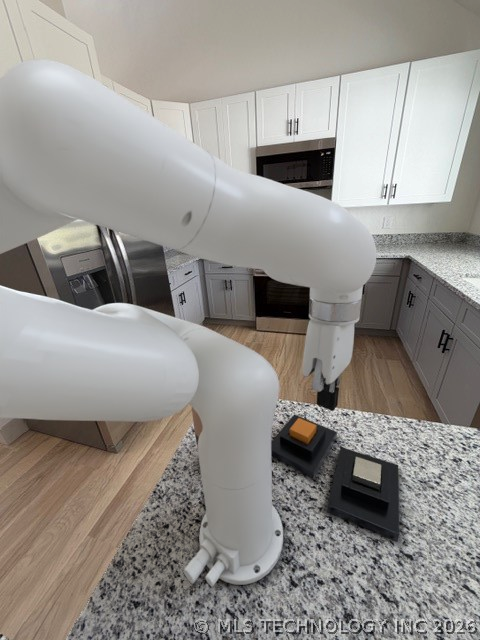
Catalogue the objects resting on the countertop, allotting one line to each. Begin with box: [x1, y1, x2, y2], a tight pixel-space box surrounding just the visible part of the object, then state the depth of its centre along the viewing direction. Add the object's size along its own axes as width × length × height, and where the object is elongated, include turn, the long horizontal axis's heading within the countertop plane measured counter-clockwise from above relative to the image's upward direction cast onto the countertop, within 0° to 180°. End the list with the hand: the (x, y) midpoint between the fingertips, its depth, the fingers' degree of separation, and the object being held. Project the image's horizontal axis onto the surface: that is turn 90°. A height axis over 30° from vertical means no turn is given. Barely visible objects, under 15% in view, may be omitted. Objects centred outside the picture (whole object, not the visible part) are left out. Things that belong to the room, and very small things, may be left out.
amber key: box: [290, 418, 317, 444], centre depth 56 cm, size 4×4×2 cm
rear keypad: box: [271, 413, 338, 480], centre depth 56 cm, size 12×10×4 cm
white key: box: [352, 457, 381, 492], centre depth 46 cm, size 4×4×2 cm
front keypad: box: [326, 446, 400, 543], centre depth 47 cm, size 13×10×4 cm
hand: (326, 405), depth 49 cm, fingers closed
